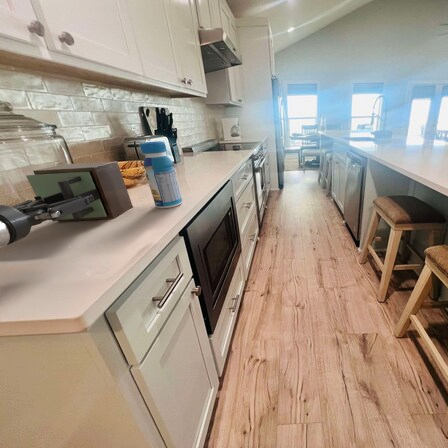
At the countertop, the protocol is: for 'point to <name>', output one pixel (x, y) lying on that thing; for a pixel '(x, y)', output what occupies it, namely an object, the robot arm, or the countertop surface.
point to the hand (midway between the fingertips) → (82, 194)
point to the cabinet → (100, 185)
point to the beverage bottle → (160, 175)
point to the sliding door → (67, 190)
